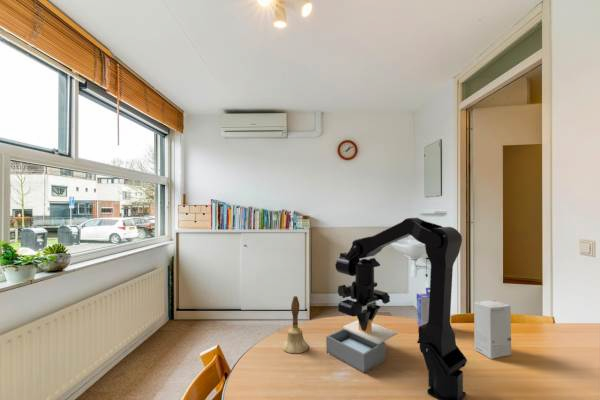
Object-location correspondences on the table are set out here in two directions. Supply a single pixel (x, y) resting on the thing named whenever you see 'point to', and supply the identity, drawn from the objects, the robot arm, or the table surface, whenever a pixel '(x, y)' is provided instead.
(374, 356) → the carton
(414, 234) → the robot arm
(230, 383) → the table surface
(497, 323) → the skincare box
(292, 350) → the hand bell
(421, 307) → the ink cartridge box
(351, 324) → the flap
